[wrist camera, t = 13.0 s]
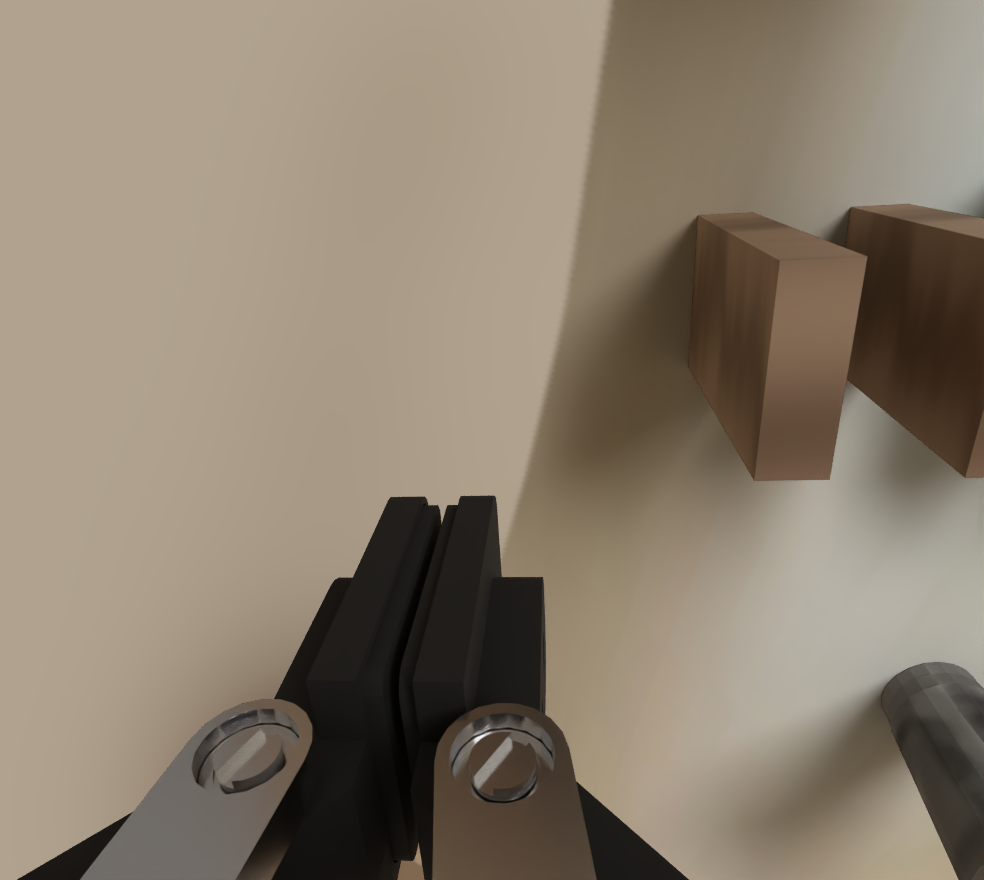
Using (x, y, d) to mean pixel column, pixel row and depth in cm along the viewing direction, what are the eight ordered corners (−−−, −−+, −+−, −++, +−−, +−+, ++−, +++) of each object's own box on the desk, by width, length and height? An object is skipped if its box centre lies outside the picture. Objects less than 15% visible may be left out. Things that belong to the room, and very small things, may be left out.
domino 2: (850, 207, 24) (1026, 249, 15) (908, 203, 24) (1120, 244, 15) (826, 362, 27) (965, 478, 18) (878, 360, 27) (1045, 477, 18)
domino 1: (697, 215, 25) (779, 260, 16) (752, 212, 25) (867, 256, 16) (688, 366, 27) (754, 480, 18) (738, 365, 27) (829, 479, 18)
